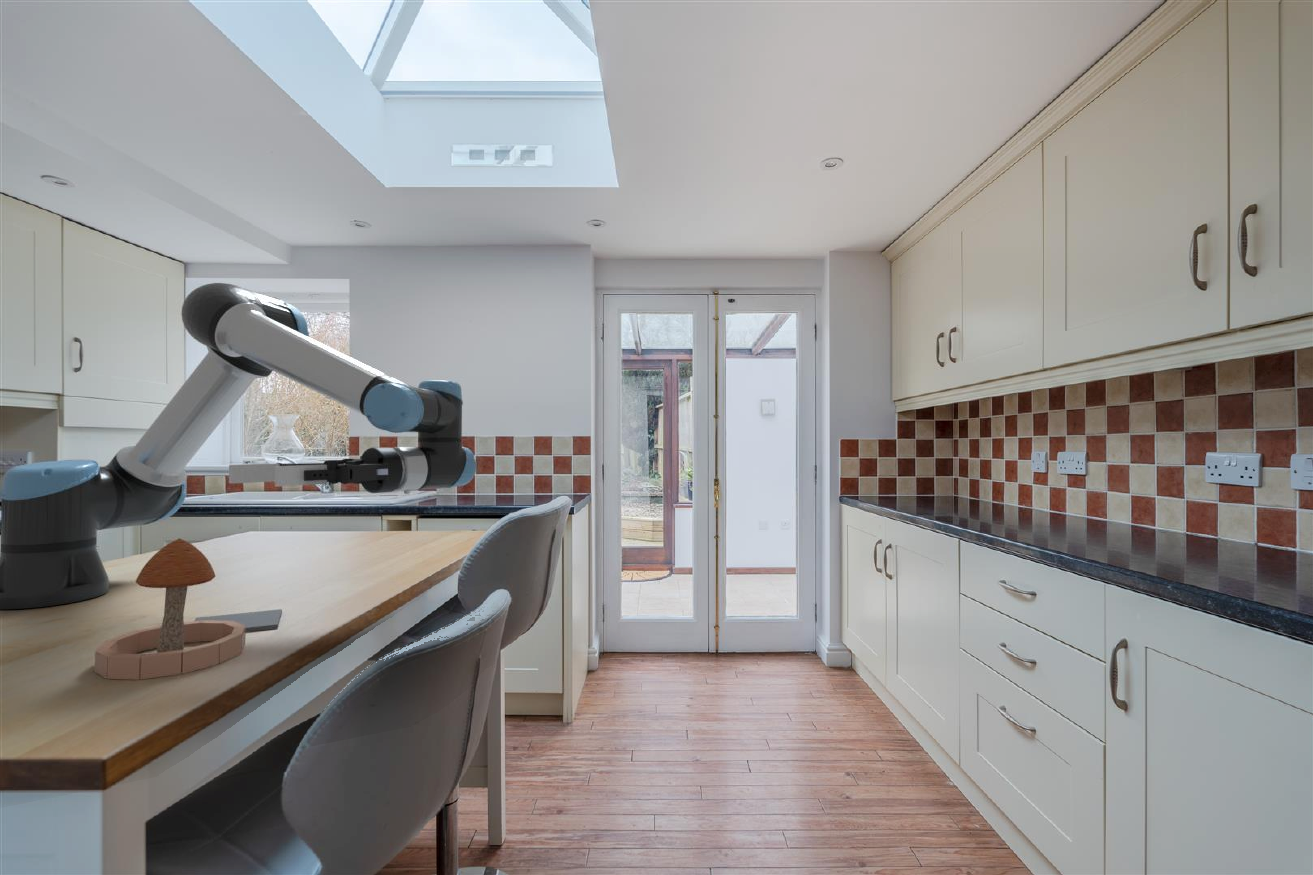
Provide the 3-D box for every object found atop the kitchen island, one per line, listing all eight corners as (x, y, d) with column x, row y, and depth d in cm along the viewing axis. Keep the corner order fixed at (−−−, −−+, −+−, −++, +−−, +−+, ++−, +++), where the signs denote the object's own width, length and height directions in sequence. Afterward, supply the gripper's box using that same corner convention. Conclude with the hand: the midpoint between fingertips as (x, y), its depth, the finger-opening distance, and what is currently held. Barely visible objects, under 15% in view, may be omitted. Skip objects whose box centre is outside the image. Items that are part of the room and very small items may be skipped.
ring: (118, 648, 79) (118, 629, 79) (249, 632, 86) (250, 615, 86) (78, 687, 66) (78, 665, 67) (236, 666, 73) (236, 645, 73)
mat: (196, 621, 91) (196, 617, 91) (281, 612, 96) (282, 609, 96) (183, 639, 83) (183, 634, 83) (277, 628, 88) (277, 624, 88)
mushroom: (224, 654, 77) (227, 537, 77) (146, 673, 71) (149, 545, 71) (199, 642, 82) (202, 531, 82) (124, 659, 75) (126, 539, 75)
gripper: (439, 494, 95) (297, 506, 77) (350, 489, 108) (213, 498, 91) (439, 447, 95) (298, 448, 77) (350, 447, 108) (213, 448, 91)
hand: (251, 475), depth 84 cm, fingers open, 13 cm apart
